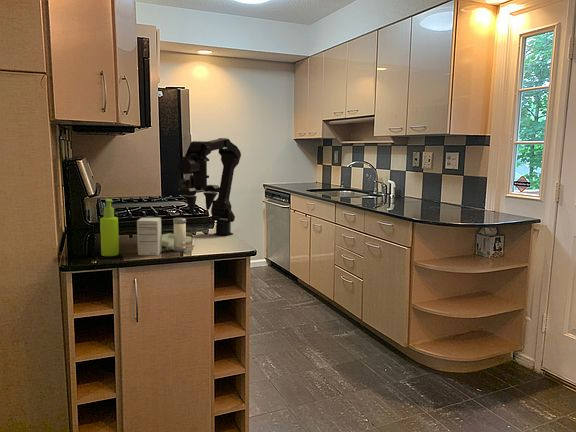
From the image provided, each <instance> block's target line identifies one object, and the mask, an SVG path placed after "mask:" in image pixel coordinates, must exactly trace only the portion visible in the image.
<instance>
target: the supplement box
mask: <svg viewBox="0 0 576 432" xmlns="http://www.w3.org/2000/svg"><path fill="white" fill-rule="evenodd" d="M161 235H162V217H140V218H138V219H137V220H136V236H137V242H136V243H137V256H159V255H160V253H161V252H162V251H163V249H162V247H163V246H162V237H161Z"/></svg>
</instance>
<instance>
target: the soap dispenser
mask: <svg viewBox="0 0 576 432" xmlns="http://www.w3.org/2000/svg"><path fill="white" fill-rule="evenodd" d="M104 200H105V207H103V216H102V217H100V218H99V223H100V225H99V227H100V228H99V229H100V252H101V253H100V254H101V256H102V257H115V256H118V255H119V254H120V240H119V217H117V216H115V208H114V207H113V206H112V203H113V199H112V198H104Z"/></svg>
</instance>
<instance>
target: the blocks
mask: <svg viewBox="0 0 576 432" xmlns="http://www.w3.org/2000/svg"><path fill="white" fill-rule="evenodd" d="M195 246H196V245H193V244H186V249H184V251H183V252H184V253H189V252H191V251H193V250H194V247H195ZM171 250H174V245H172V246H169V247H166V251H171Z"/></svg>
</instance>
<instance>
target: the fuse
mask: <svg viewBox="0 0 576 432" xmlns="http://www.w3.org/2000/svg"><path fill="white" fill-rule="evenodd" d="M172 219H173V221H172V222H173V234H174V249H173V251H174V252H184V249H186V248H187V247H186V245H187V243H186V236H187V232H186V231H187V229H186V228H187V224H186V223H187V218H186V217H174V218H172Z"/></svg>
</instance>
